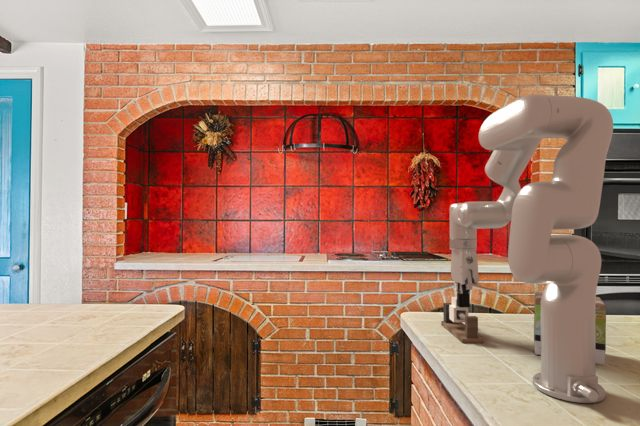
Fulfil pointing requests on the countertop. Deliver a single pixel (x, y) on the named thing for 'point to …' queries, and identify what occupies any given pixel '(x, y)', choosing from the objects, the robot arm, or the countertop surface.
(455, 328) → the rail
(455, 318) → the sleeve
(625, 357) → the countertop surface
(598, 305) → the tea box
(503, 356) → the countertop surface
